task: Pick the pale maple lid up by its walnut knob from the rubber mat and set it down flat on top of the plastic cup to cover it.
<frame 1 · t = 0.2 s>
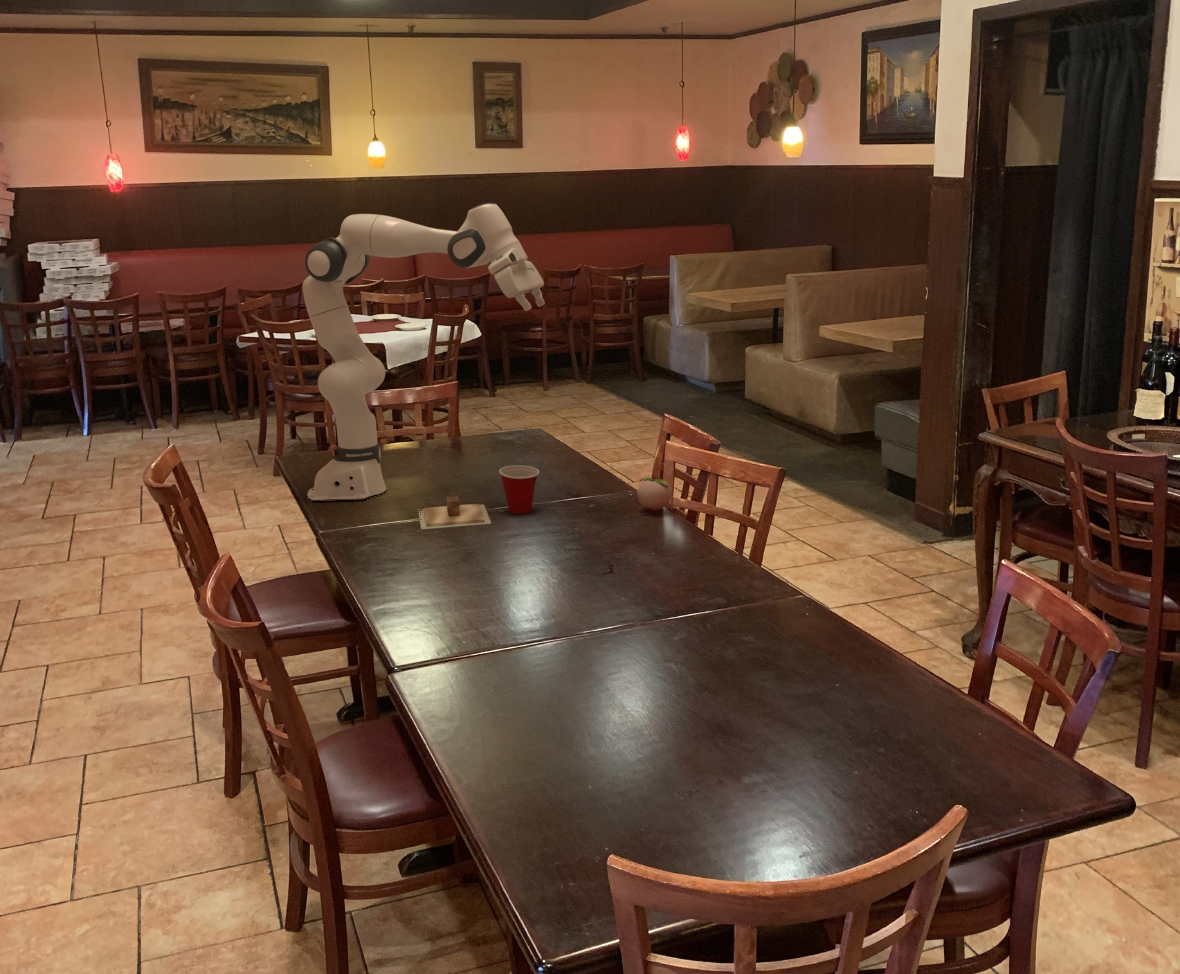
hand: (535, 307, 290), 54 cm above the table, tool tilted 30°, fingers open, 8 cm apart
decorative fruit: (653, 512, 295), on the table
lid: (453, 516, 294), resting on mat
plastic cup: (521, 513, 298), on the table
mat: (453, 518, 294), on the table
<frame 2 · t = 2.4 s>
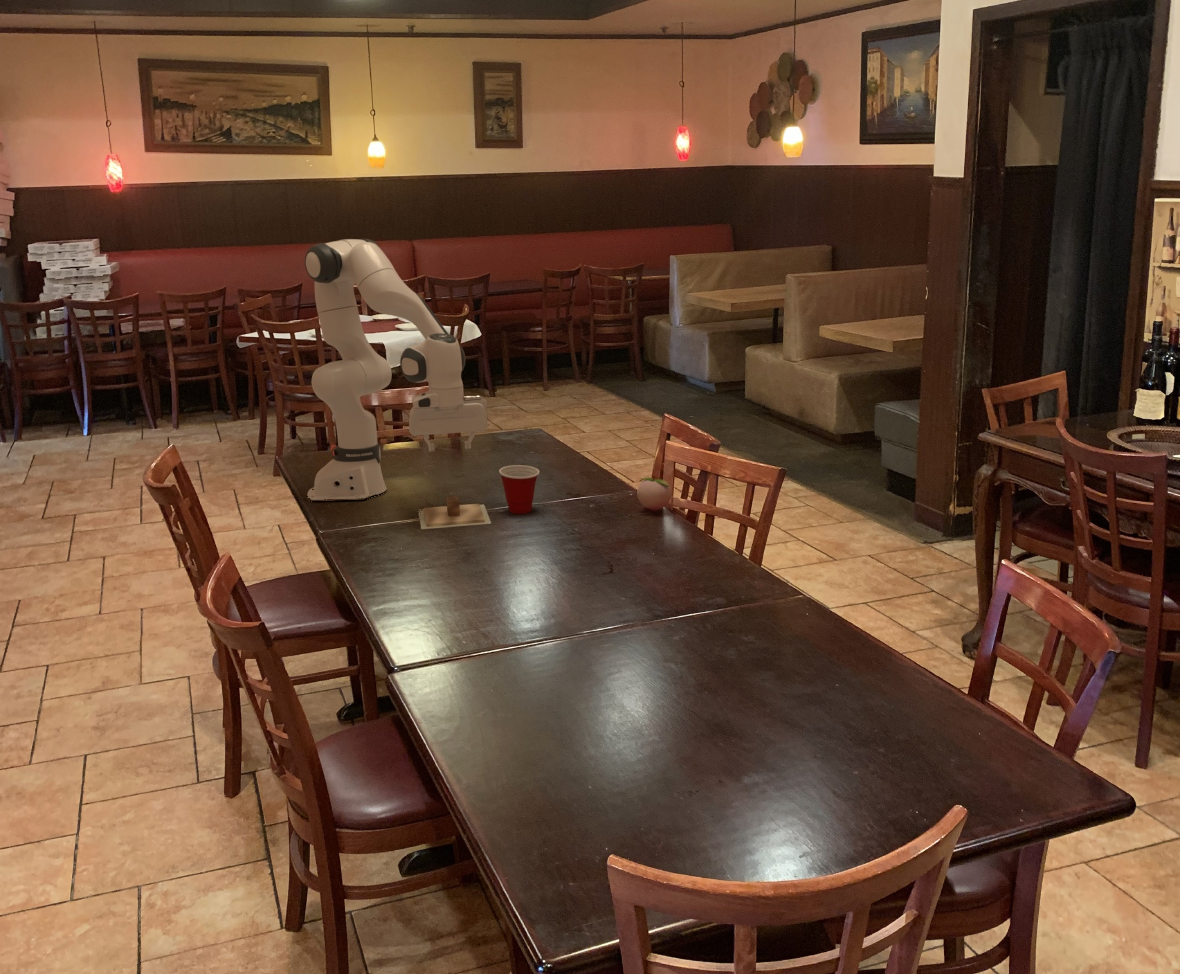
hand: (449, 449, 289), 19 cm above the table, tool pointing down, fingers open, 8 cm apart
nothing on the table moved.
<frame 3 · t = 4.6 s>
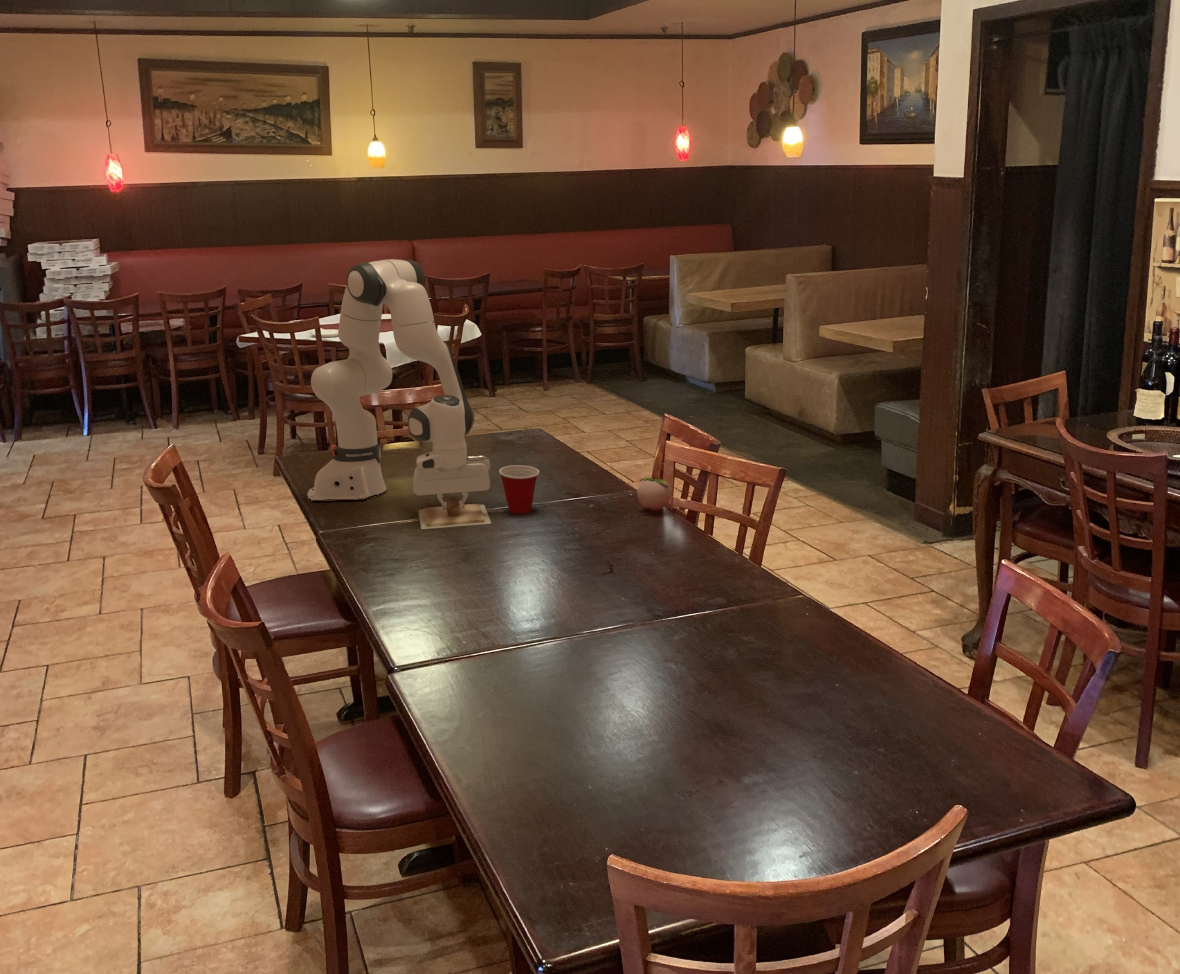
hand: (453, 508, 294), 3 cm above the table, tool pointing down, fingers closed on lid, 3 cm apart
lid: (453, 516, 294), resting on mat, touching gripper
everything else where it was.
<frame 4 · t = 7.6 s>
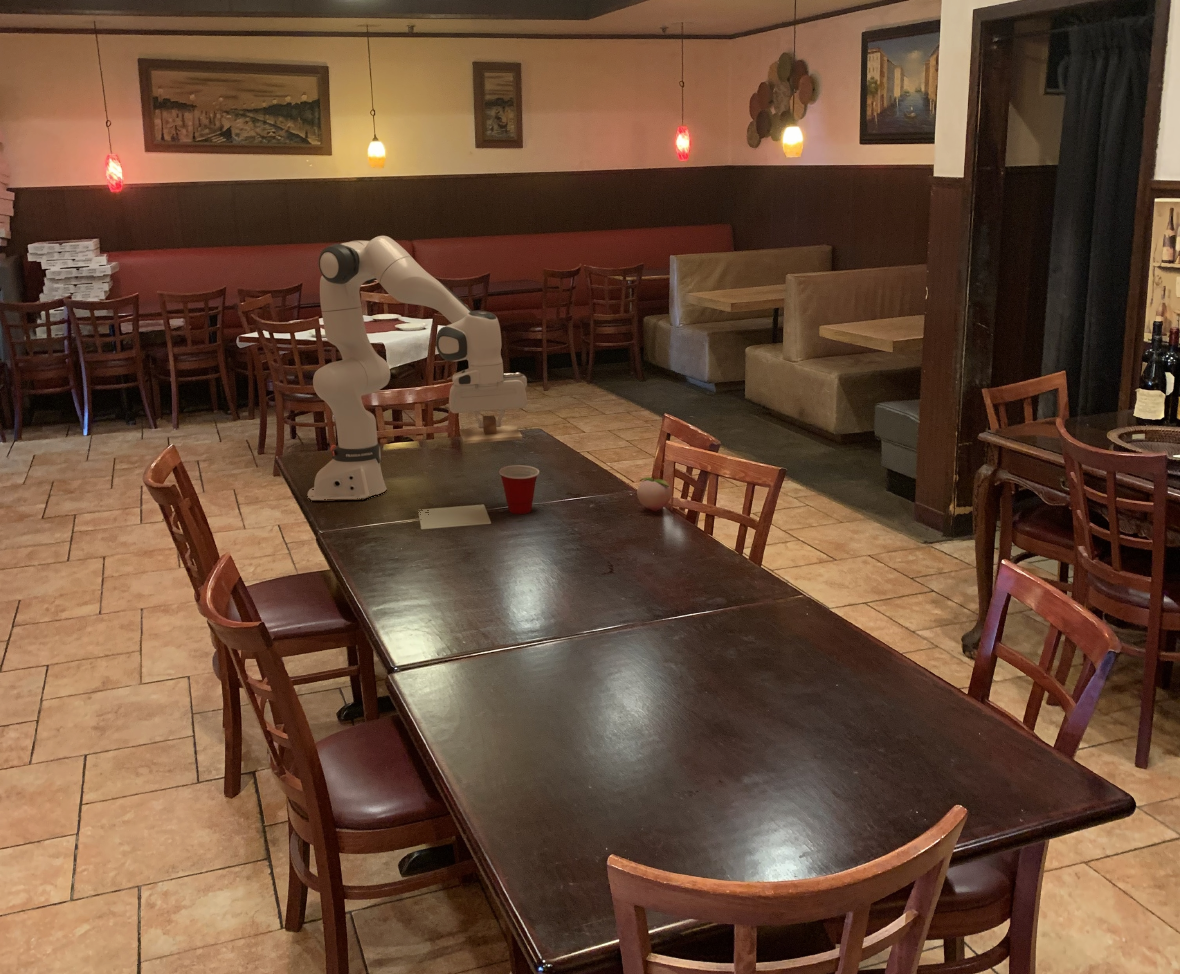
hand: (489, 427, 289), 24 cm above the table, tool pointing down, fingers closed on lid, 3 cm apart
lid: (490, 435, 290), point 22 cm above the table, touching gripper
everything else where it was.
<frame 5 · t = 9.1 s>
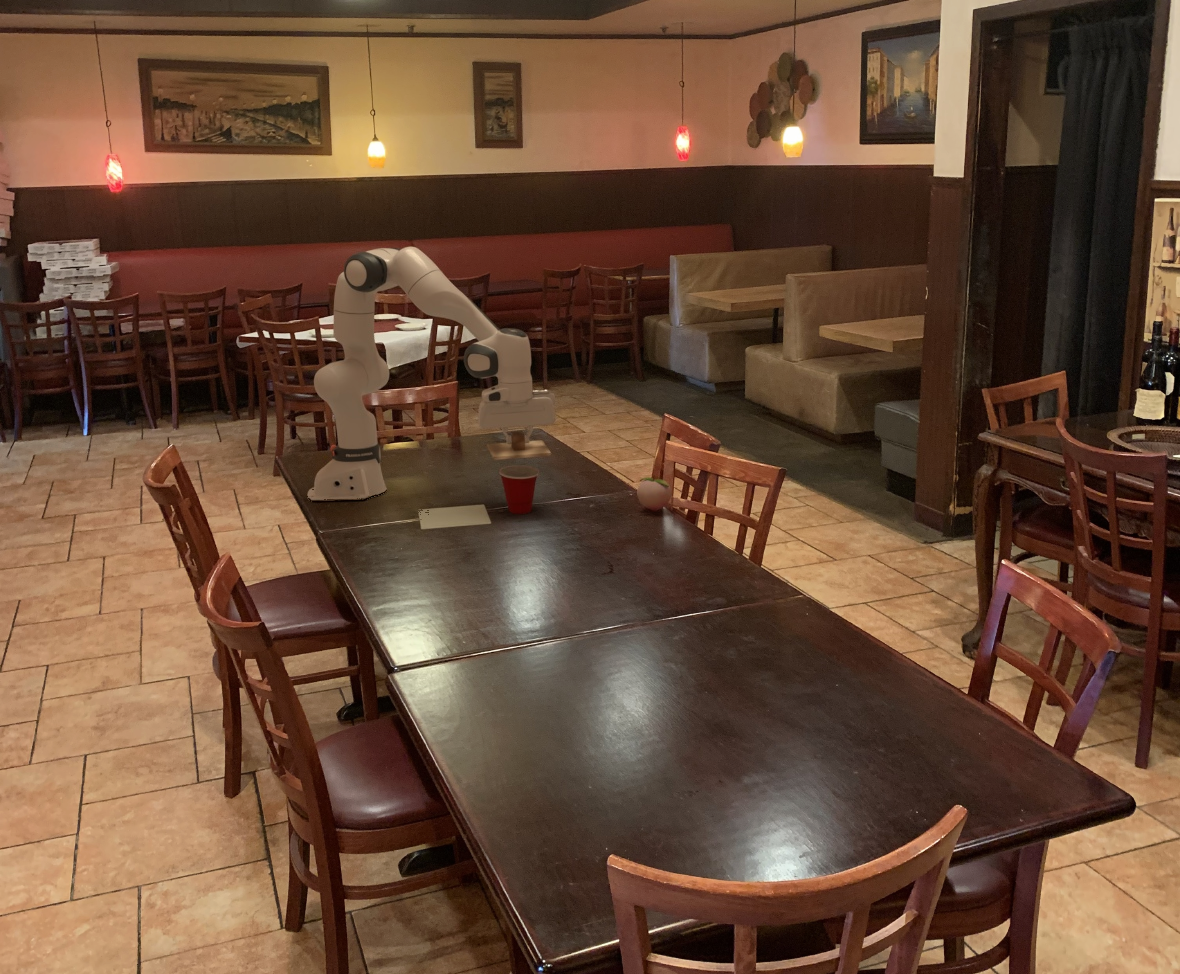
hand: (518, 443, 292), 19 cm above the table, tool pointing down, fingers closed on lid, 3 cm apart
lid: (518, 451, 293), point 17 cm above the table, touching gripper
everything else where it was.
when the fingers open (16 cm above the table, at t = 10.5 s): lid drops 1 cm, resting on plastic cup.
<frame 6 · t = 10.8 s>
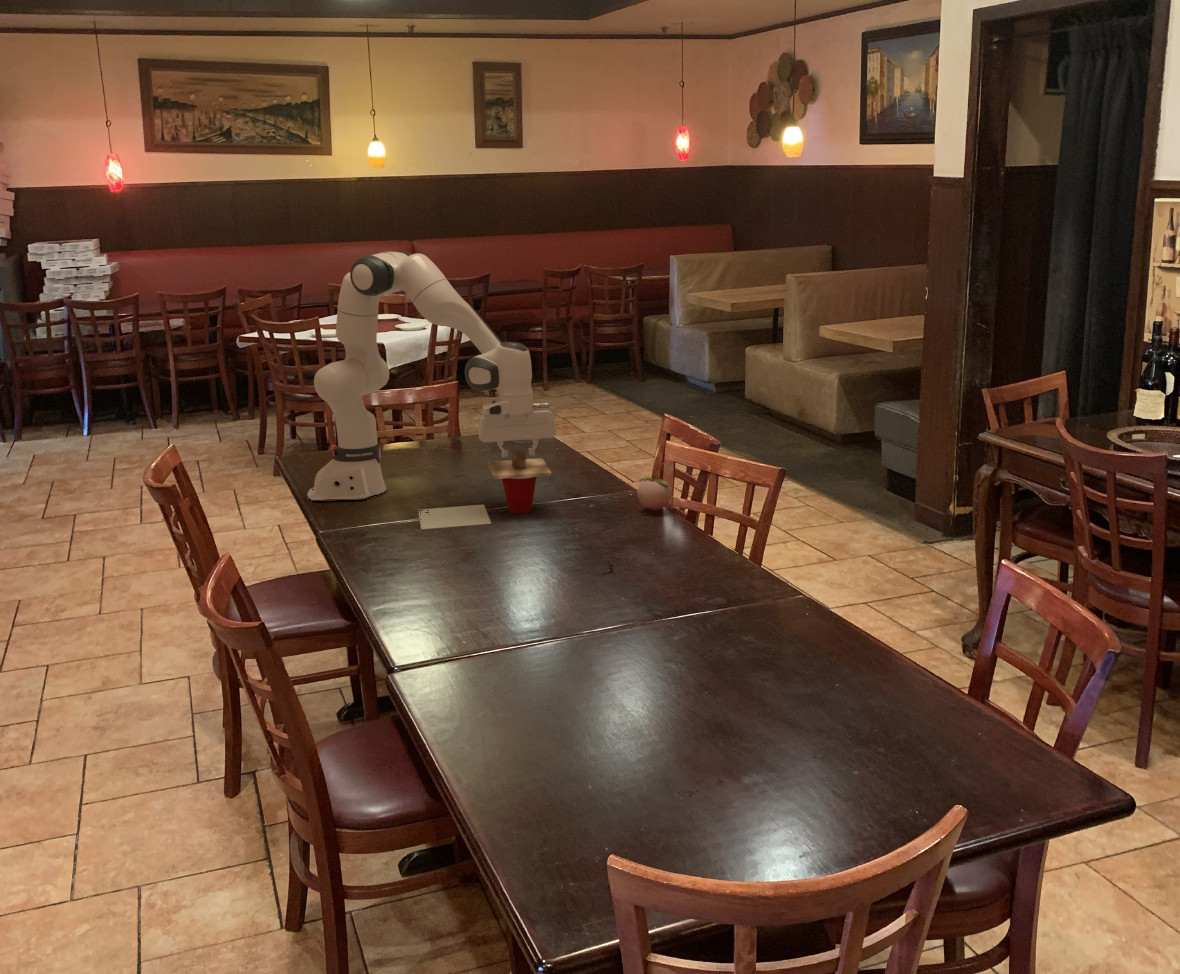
hand: (518, 456, 293), 16 cm above the table, tool pointing down, fingers open, 6 cm apart
lid: (518, 469, 294), point 12 cm above the table, touching plastic cup
plastic cup: (521, 513, 298), on the table, touching lid
everything else where it was.
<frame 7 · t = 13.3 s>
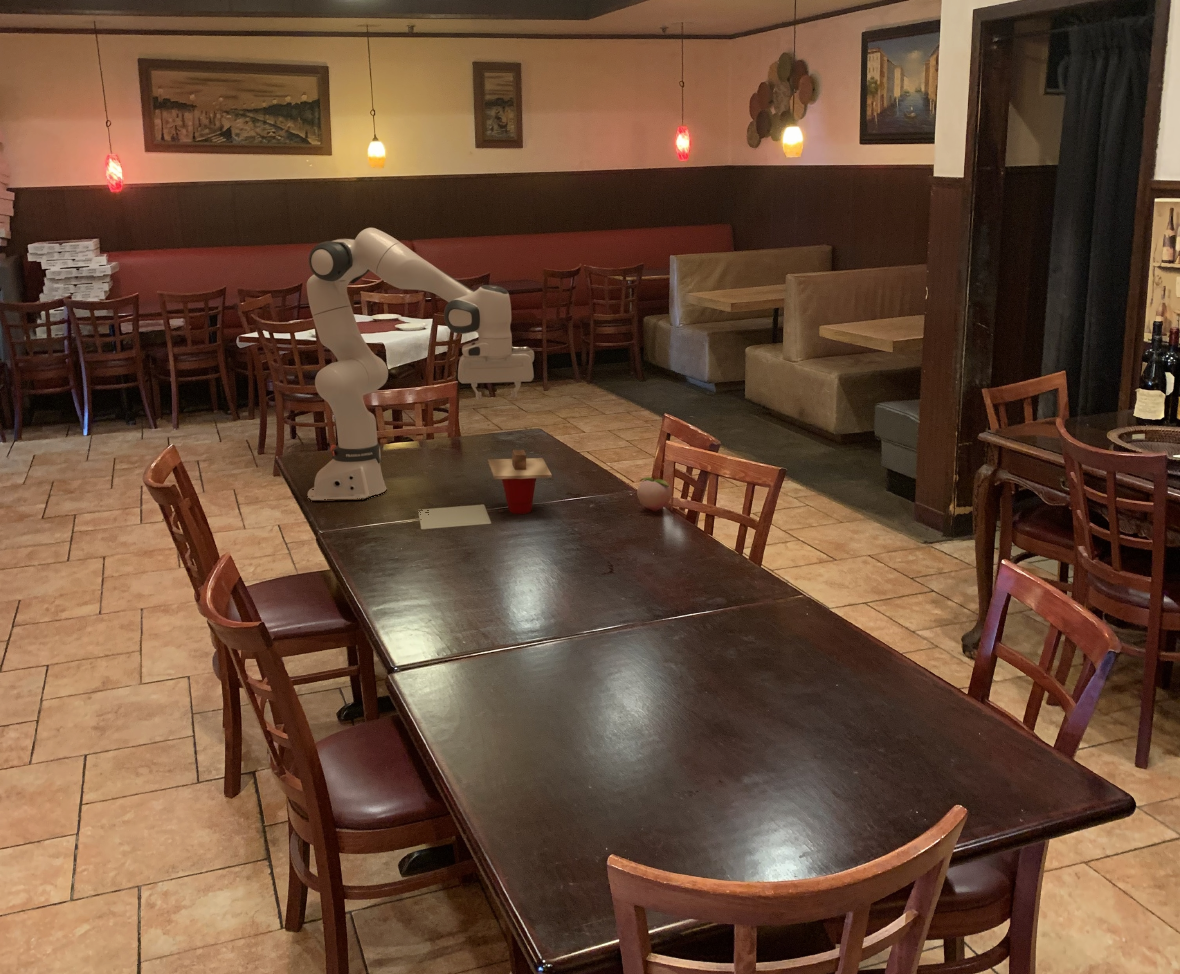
hand: (496, 398, 299), 30 cm above the table, tool pointing down, fingers open, 8 cm apart
nothing on the table moved.
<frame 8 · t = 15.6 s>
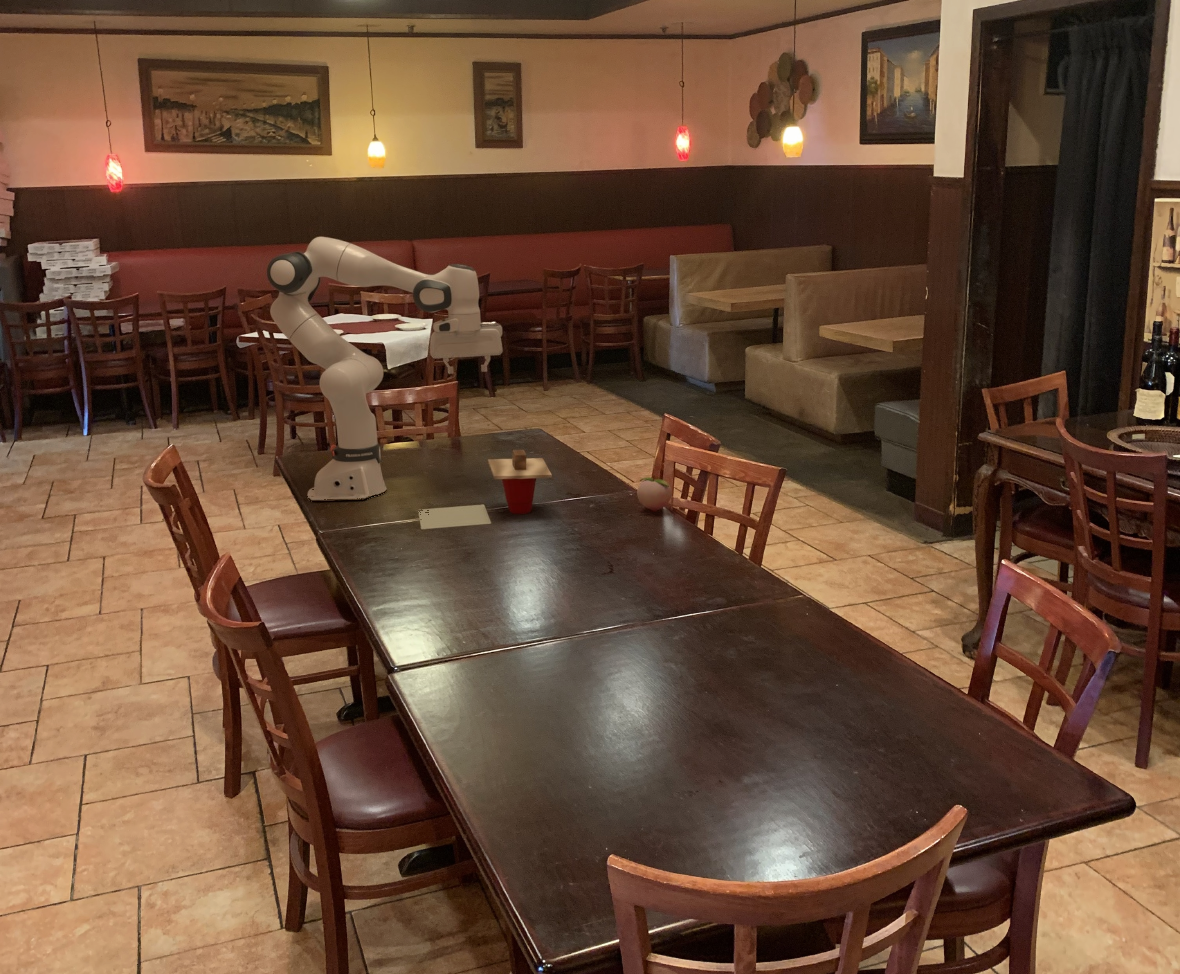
hand: (467, 372, 313), 34 cm above the table, tool pointing down, fingers open, 8 cm apart
nothing on the table moved.
at the end: lid 0.1 cm off-centre on the plastic cup, point 12.2 cm above the plastic cup's base; the gripper is holding nothing; plastic cup tilted 0° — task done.
